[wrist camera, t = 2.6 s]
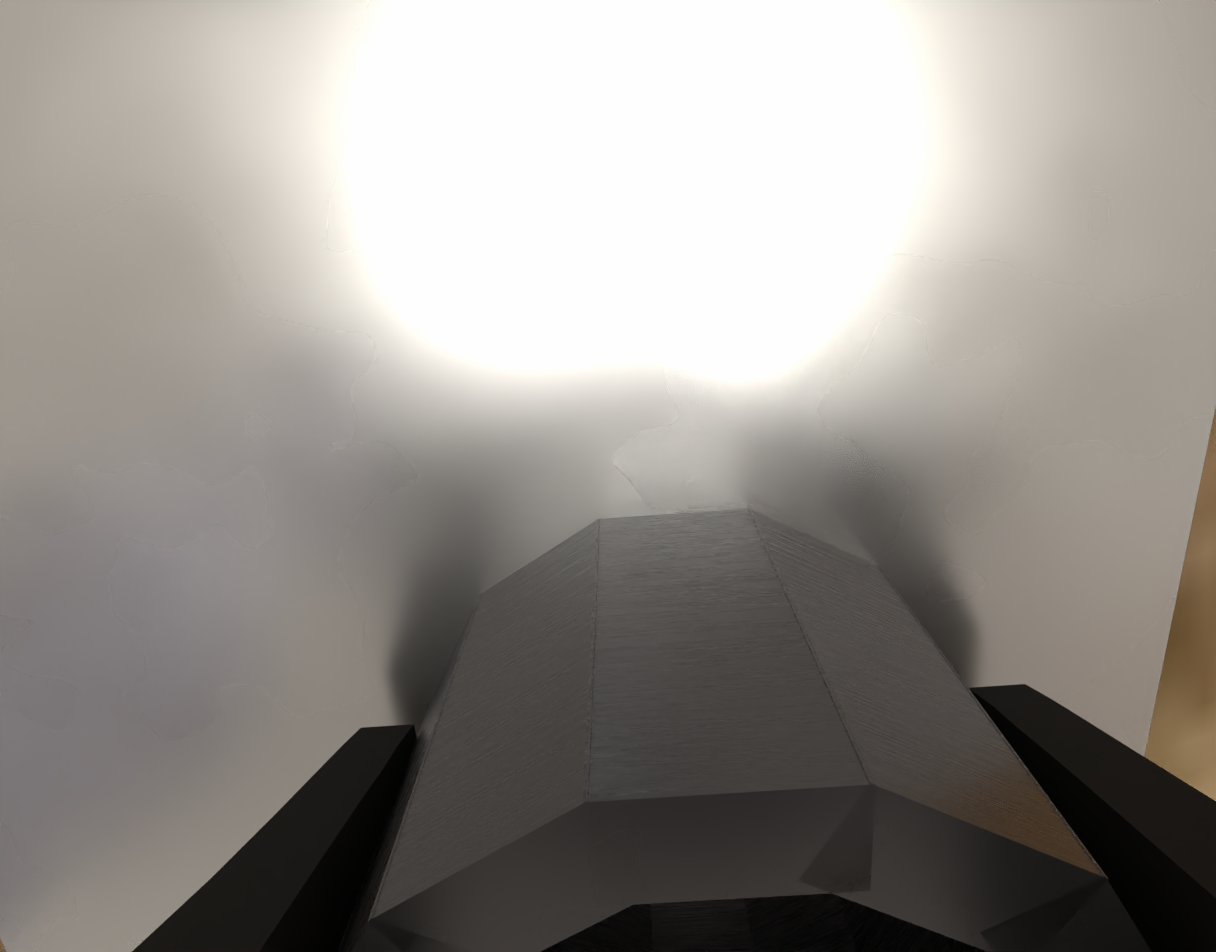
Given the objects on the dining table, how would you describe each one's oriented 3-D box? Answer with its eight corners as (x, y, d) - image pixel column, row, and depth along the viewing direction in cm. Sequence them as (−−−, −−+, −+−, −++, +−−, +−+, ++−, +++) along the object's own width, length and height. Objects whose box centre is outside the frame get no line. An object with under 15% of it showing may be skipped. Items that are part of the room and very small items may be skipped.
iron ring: (475, 936, 10) (393, 1371, 6) (394, 534, 8) (204, 823, 4) (923, 912, 10) (1114, 1346, 6) (959, 492, 8) (1279, 757, 4)
